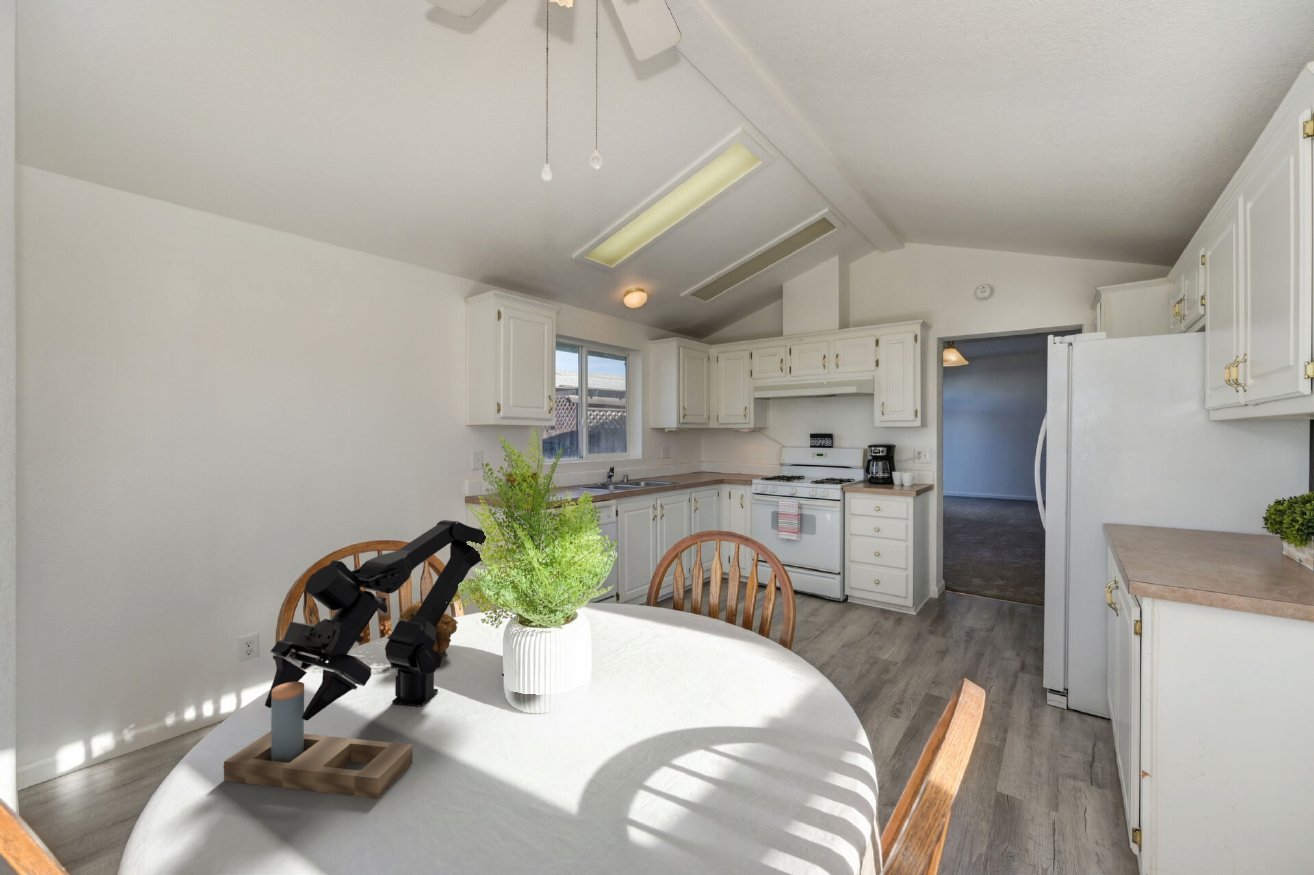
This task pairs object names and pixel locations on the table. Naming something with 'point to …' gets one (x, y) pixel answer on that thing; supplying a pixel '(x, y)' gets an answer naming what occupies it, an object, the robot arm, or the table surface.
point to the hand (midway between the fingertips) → (285, 713)
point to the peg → (287, 722)
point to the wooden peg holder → (323, 765)
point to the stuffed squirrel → (442, 630)
